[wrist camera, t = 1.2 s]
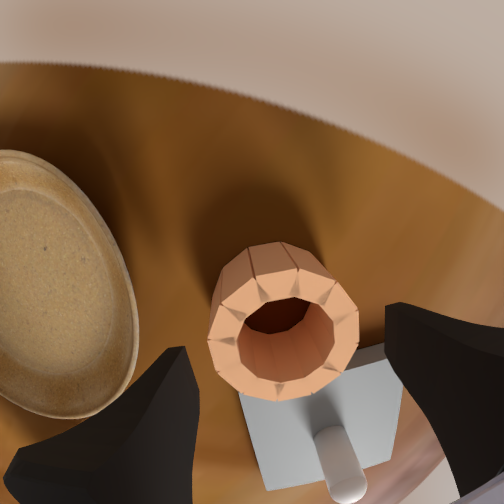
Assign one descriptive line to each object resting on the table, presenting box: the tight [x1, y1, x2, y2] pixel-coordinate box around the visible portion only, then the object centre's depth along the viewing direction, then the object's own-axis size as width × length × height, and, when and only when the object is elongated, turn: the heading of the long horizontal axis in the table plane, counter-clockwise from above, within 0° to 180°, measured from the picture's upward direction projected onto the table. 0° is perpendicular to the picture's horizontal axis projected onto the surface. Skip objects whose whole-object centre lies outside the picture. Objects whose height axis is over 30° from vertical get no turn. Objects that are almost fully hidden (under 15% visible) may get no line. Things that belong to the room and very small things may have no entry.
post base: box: [238, 343, 403, 504], centre depth 15 cm, size 10×9×6 cm
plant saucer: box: [0, 150, 139, 419], centre depth 13 cm, size 15×15×3 cm
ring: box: [207, 242, 359, 402], centre depth 13 cm, size 6×6×4 cm
